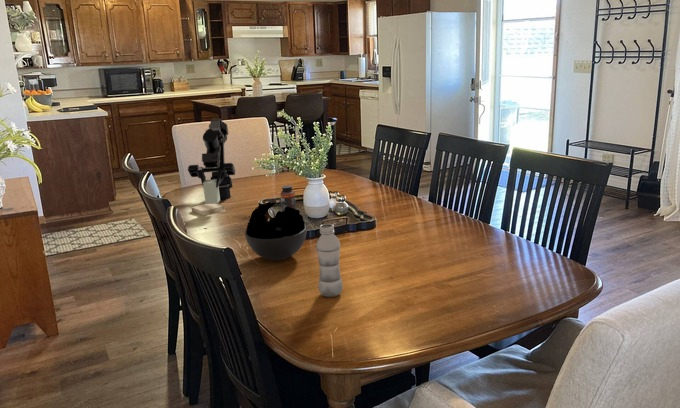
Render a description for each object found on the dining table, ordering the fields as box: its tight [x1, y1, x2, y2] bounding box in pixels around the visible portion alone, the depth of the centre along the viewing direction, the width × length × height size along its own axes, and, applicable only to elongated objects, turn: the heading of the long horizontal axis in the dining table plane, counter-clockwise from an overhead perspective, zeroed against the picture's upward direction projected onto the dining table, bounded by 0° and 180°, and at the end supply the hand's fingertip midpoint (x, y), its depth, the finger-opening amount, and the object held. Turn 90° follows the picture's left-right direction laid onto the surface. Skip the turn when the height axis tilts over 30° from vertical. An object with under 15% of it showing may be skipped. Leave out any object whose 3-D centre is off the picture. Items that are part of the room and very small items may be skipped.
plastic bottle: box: [315, 223, 344, 298], centre depth 155 cm, size 6×7×20 cm
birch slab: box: [190, 203, 225, 217], centre depth 243 cm, size 10×10×2 cm
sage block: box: [202, 179, 221, 204], centre depth 236 cm, size 5×5×9 cm
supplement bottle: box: [280, 184, 297, 212], centre depth 237 cm, size 6×6×11 cm
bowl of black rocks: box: [244, 201, 308, 261], centre depth 185 cm, size 20×20×19 cm
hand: (210, 187), depth 234 cm, fingers closed on sage block, 5 cm apart
